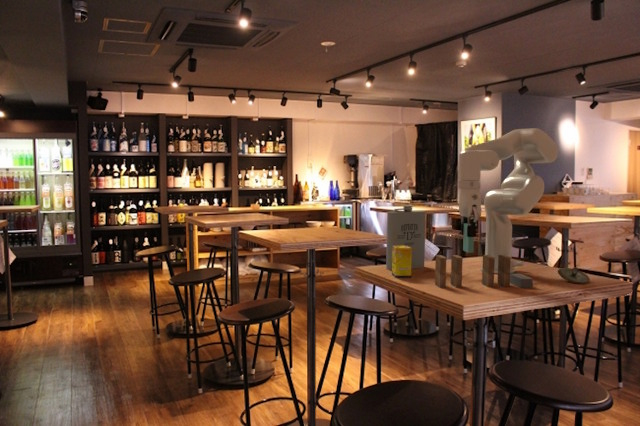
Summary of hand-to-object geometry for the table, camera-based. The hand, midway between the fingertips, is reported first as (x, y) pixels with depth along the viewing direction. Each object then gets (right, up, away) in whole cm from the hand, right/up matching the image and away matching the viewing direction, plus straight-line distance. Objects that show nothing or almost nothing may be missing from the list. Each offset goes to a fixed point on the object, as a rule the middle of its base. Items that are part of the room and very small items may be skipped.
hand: (468, 235), depth 190 cm
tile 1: (-13, -17, -13) cm, 25 cm away
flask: (-19, -14, +19) cm, 31 cm away
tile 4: (+3, -17, -12) cm, 20 cm away
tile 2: (-8, -17, -13) cm, 22 cm away
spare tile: (0, -6, +1) cm, 6 cm away
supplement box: (-24, -15, +3) cm, 29 cm away
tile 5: (+9, -17, -11) cm, 22 cm away
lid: (+36, -16, -4) cm, 40 cm away
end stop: (+15, -16, -11) cm, 24 cm away
